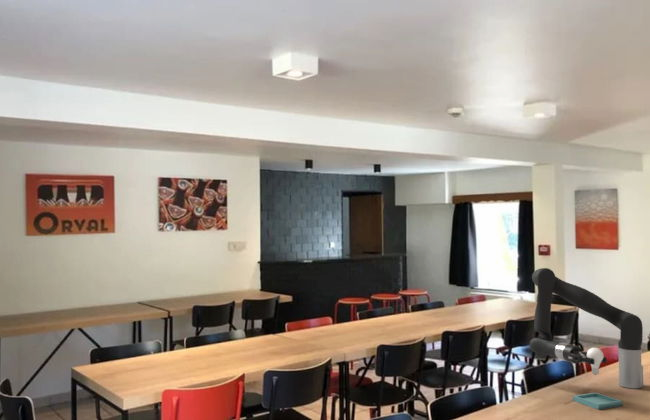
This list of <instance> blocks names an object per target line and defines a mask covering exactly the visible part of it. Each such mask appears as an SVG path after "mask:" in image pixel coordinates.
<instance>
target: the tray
mask: <svg viewBox="0 0 650 420" xmlns="http://www.w3.org/2000/svg"><path fill="white" fill-rule="evenodd" d="M572 401H573V402H576V403H579V404H582V405H583V406H584V405H585V406H588V407H590V408H592V409H596V410H604V409H612V408H617V407H623V400H621V399H618V398H614V397H612V396H608V395H605V394H602V393H599V392H591V393H590V392H589V393H583V394H582V393H581V394H575V395H572Z"/></svg>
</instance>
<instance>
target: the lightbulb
mask: <svg viewBox="0 0 650 420" xmlns="http://www.w3.org/2000/svg"><path fill="white" fill-rule="evenodd" d="M586 352H587V357H588V358H592V359H594V364H590V366H591V373H592V374H593V375H598V374H600V369H599V368H600V366H601V363H603V362H602V360H603V357H605V356H604V353H603V351H602V350H601V349H600V348H598V347H590V348H589V349H588V350H587V351H586Z"/></svg>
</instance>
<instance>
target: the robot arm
mask: <svg viewBox="0 0 650 420" xmlns="http://www.w3.org/2000/svg"><path fill="white" fill-rule="evenodd" d="M531 279H532V282H533V283H534V285H535V286H536V287H537V300H536V301H537V302H536V306H535V311H534V322H533V323H534V325H533V327H534V331H535V332H537V333H539V335H540V337H534V338H532V339H530V341H529V348H530V350H531V351H532V352H533V353H536V354H540V355H545V356H550V357H554V358H556V359H559V360H562V361H565V362H568V363H572V364H582V363H583V364H589V365H591V364H594V359H592V358H588V357H587V351H585V350H582V347H580V346H579V345H573V344H571V343H566V342H560V341H556V340H555V341H554V339H553V336H552V332H551V315H552V313H551V312H552V310H551V309H552V300H553V299H552V298H553V294H555V295H557V296H558V297H560V298H562V299H563V300H564V301H566V302H568V303H569V304H572V305H573V306H575V307H576V308H578V309H580V310H582V311H583V312H586V313H588V314H590V315H592V316H596V317H599V318H601V319H603V320H605V321H606V322H608V323H609V324H611V325H613V326H614V327H616V328H617V329H619V330H620V331H619V334H620V335H619V336H620V339H619V340H618V342H617V343H618V344H617V348H618V354H617V355H618V385H619V386H620V387H623V388H626V389H642V388H643V387H644V366H643V364H642V344H643V335H644V334H643V333H644V332H643V322H642V319H641V318H640V317H639V316H638V315H635V314H633V313H631V312H628V311H625V310H622V309H620V308H618V307H616V306H613V305H612V304H611V303H608V302H607V301H605V300H604V299H603V298H602V297H600V296H598V295H597V294H595V293H594V292H591V291H590V290H588V289H586V288H584V287H581V286H578V285H575V284H573V283H569V282H566V281H565V280H562V279H560V278H559V277H558V276H556V274H555V272H554V271H553V270H552V269H551V268H548V267H542V268H538V269H536V270H534V271H533V273H532V274H531ZM607 359H608V358H607V357H605V356H604V357H603V360H602V362H601V363H604V364H606V363H607V362H608V360H607Z"/></svg>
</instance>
